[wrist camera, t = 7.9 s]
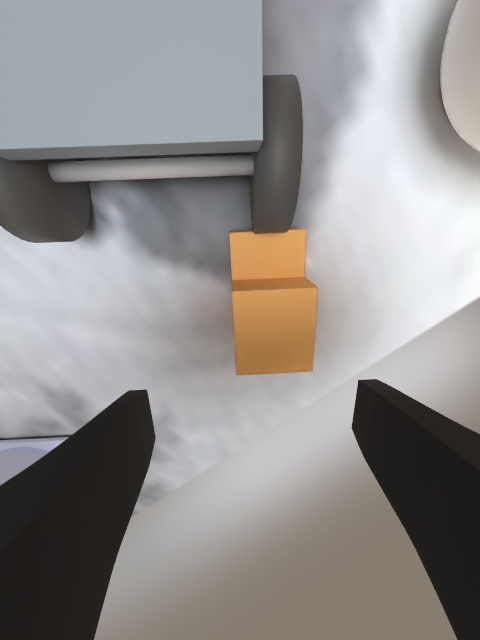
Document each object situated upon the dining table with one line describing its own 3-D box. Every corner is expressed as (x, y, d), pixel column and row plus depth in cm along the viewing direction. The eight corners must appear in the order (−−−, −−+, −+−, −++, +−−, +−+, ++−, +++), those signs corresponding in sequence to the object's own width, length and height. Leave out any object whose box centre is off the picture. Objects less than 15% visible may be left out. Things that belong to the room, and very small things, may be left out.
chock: (292, 333, 19) (312, 371, 14) (235, 336, 19) (236, 374, 14) (295, 228, 16) (321, 231, 12) (229, 231, 16) (228, 235, 12)
